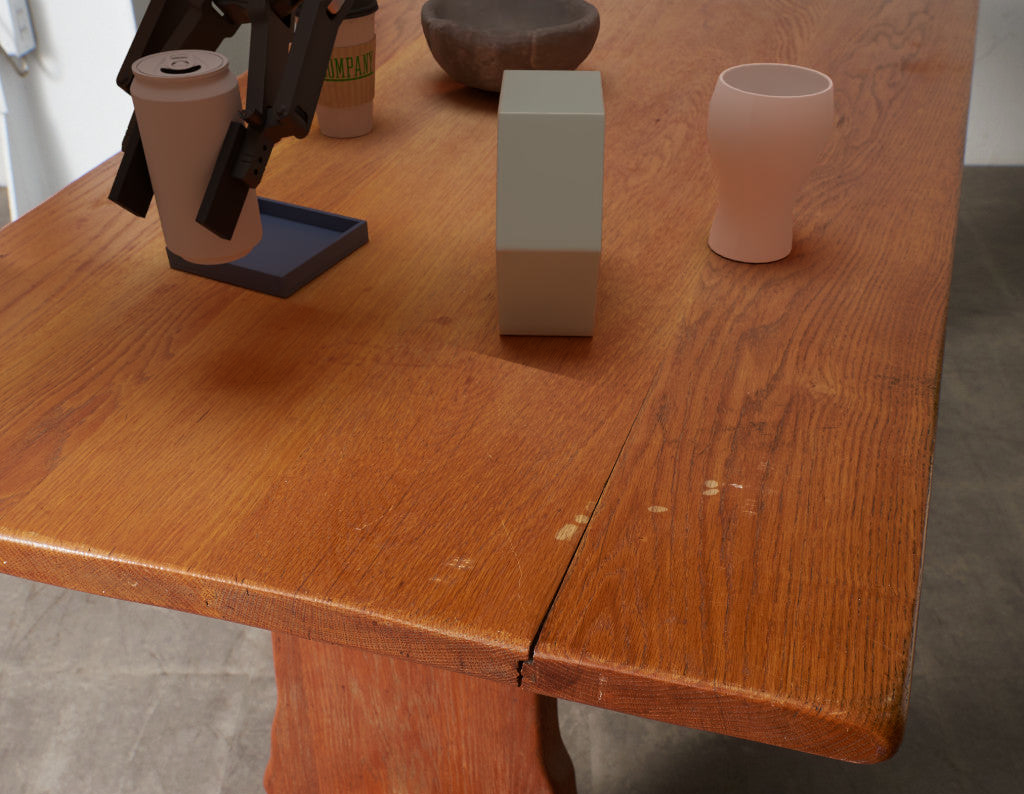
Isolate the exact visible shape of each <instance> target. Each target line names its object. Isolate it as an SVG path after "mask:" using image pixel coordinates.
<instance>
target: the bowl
mask: <svg viewBox="0 0 1024 794" xmlns="http://www.w3.org/2000/svg"><path fill="white" fill-rule="evenodd" d="M420 22H421V27H422V32H423V35H424V38H425V42H426V45H427V46H428V49H429V51H430V53H431V55H432V58H433V59H434V60H435V62H436V63H437V65H438V66H439V67H440V68H441V69H443V71H444V72H445V73H446V74H447V75H448V76H449V77H450V78H452V79H453V80H455V81H456V82H458V83H460V84H462V85H464V86H467V87H470V88H474V89H479V90H481V91H487V92H492V93H501V85H502V78H503V72H504V70H557V71H576V69H577V68H579V67H580V65H582V64H583V63H584V61H585V60H586V59H587V58H588V57H589V55H590V54H591V52H592V51H593V49H594V46H595V45H596V41H597V39H598V36H599V33H600V28H601V16H600V12H599V10H598V8H597V7H596V6H595V5H594V4H592V3H590V2H588V1H586V0H427V1H425V2H424V4H423V5H422V7H421V11H420Z"/></svg>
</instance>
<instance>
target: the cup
mask: <svg viewBox="0 0 1024 794" xmlns="http://www.w3.org/2000/svg"><path fill="white" fill-rule="evenodd" d="M834 97H835V95H834V83H833V79H831V78H830V76H828V75H827V74H825V73H823V72H821V71H819V70H816V69H812V68H809V67H805V66H800V65H795V64H787V63H778V62H777V63H775V62H774V63H773V62H755V63H744V64H738V65H735V66H732V67H729V68H726V69H725V70H723V71H722V72H721V73H720V74H719V76H718V78H717V81H716V84H715V87H714V90H713V93H712V96H711V98H710V101H709V104H708V114H707V119H706V121H707V122H706V138H707V146H708V152H709V157H710V160H711V163H712V165H713V168H714V171H715V174H716V176H717V179H718V205H717V208H716V211H715V214H714V217H713V220H712V224H711V226H710V231H709V236H708V239H707V244H708V246H709V248H710V249H711V250H712V251H713V252H714V253H716V254H718V255H720V256H721V257H724V258H726V259H730V260H733V261H737V262H742V263H754V264H759V263H770V262H775V261H779V260H781V259H784V258H786V257H787V256H788V255H789V254H790V253H791V251H792V249H793V248H792V247H793V234H794V233H793V228H794V227H793V225H794V224H793V223H794V221H793V220H794V219H793V215H794V214H793V212H794V209H795V207H796V203H797V201H798V197H799V193H800V191H801V187H802V186H803V184H804V183H805V182H806V181H807V179H808V178H809V177H810V175H811V174H812V173H813V171H814V170H815V168H816V167H817V166H818V164H819V161H820V160H821V157H822V156H823V154H824V152H825V149H826V148H827V145H828V143H829V141H830V139H831V133H832V129H833V123H834V118H835V98H834Z"/></svg>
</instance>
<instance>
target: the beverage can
mask: <svg viewBox="0 0 1024 794" xmlns="http://www.w3.org/2000/svg"><path fill="white" fill-rule="evenodd" d="M229 66H230V63H229V58H228V57H227V55H225V54H223V53H220V52H217V51H215V52H212V51H205V50H176V51H167V52H161V53H156V54H152V55H149V56H146V57H143V58H141V59H139V60H137V61H135V62H134V63H133V64H132V72H133V74H134V75H135V77H134V79H133V81H132V84H131V87H130V92H131V96H130V98H131V100H132V104H133V111H134V110H135V114H136V118H137V122H138V127H139V131H140V135H141V140H142V144H143V148H144V153H145V157H146V161H147V166H148V170H149V174H150V179H151V183H152V187H153V192H154V195H153V197H154V200H155V204H156V209H157V214H158V218H159V221H160V225H161V230H162V235H163V238H164V243H165V247H166V246H167V248H168V249H169V250H170V251H171V252H173V253H174V254H176V255H178V256H181V257H182V258H184V259H185V260H187V261H189V262H192V263H196V264H204V265H214V264H223V263H228V262H232V261H235V260H238V259H240V258H242V257H244V256H246V255H247V254H248V253H249V252H250V251H251V250H252V249H253V247H254V246H256V245H257V244H258V243H259V242H260V240H261V238H262V235H263V230H262V224H261V218H260V212H259V206H258V200H257V196H258V194H257V188H256V189H252V188H250V189H249V192H248V194H247V197H246V200H245V203H244V205H243V208H242V211H241V214H240V217H239V219H238V222H237V225H236V228H235V230H234V233H233V236H232V239H231V241H229V240H225V239H221V238H220V237H218V236H217V235H215V234H214V233H212V232H211V231H209V230H208V229H206V228H205V227H203V226H202V225H200V224H199V223H197V222H196V221H195V219H196V216H197V214H198V211H199V208H200V205H201V203H202V200H203V197H204V194H205V192H206V189H207V186H208V183H209V181H210V178H211V175H212V172H213V170H214V167H215V164H216V161H217V159H218V156H219V153H220V150H221V148H222V145H223V142H224V139H225V137H226V134H227V131H228V128H229V126H230V123H231V121H233V122H238V123H241V124H242V125H244V126H245V127H246V122H245V121H244V120H243V119H242V118H241V117H240V116H239V115H238V110H239V111H241V112H242V110H244V109H243V102H242V96H241V89H240V85H239V80H238V78H237V76H236V74H234V73H233V72H232V71H231V69H230V68H229Z"/></svg>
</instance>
